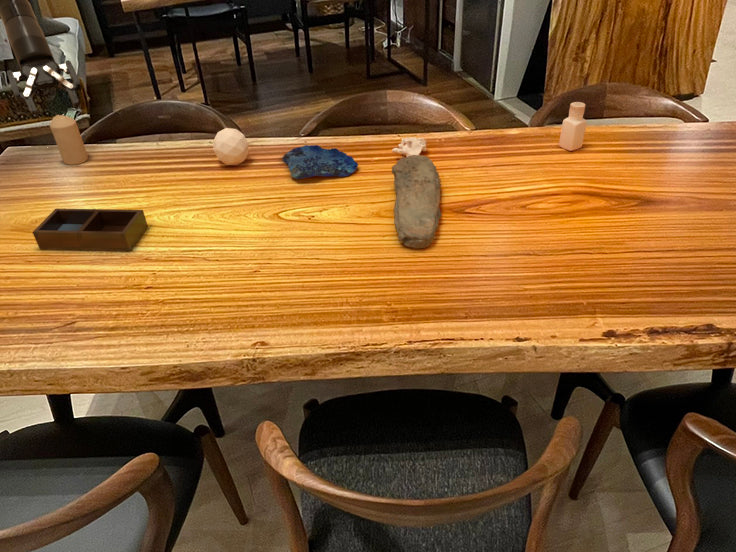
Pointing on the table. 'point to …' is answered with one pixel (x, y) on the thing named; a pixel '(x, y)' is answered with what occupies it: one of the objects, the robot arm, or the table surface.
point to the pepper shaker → (573, 127)
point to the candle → (68, 140)
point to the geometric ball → (230, 146)
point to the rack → (91, 229)
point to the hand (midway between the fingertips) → (56, 110)
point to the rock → (318, 162)
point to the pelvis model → (411, 146)
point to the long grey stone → (416, 200)
